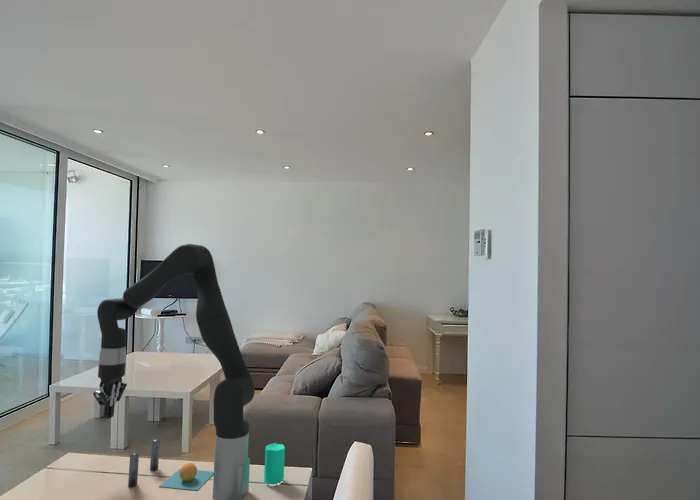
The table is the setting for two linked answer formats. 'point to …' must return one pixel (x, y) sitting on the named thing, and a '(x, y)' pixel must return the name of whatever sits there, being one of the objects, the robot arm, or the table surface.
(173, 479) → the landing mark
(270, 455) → the candle
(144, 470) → the table surface
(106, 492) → the table surface
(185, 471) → the ball
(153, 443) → the right post
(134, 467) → the left post
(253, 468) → the table surface
